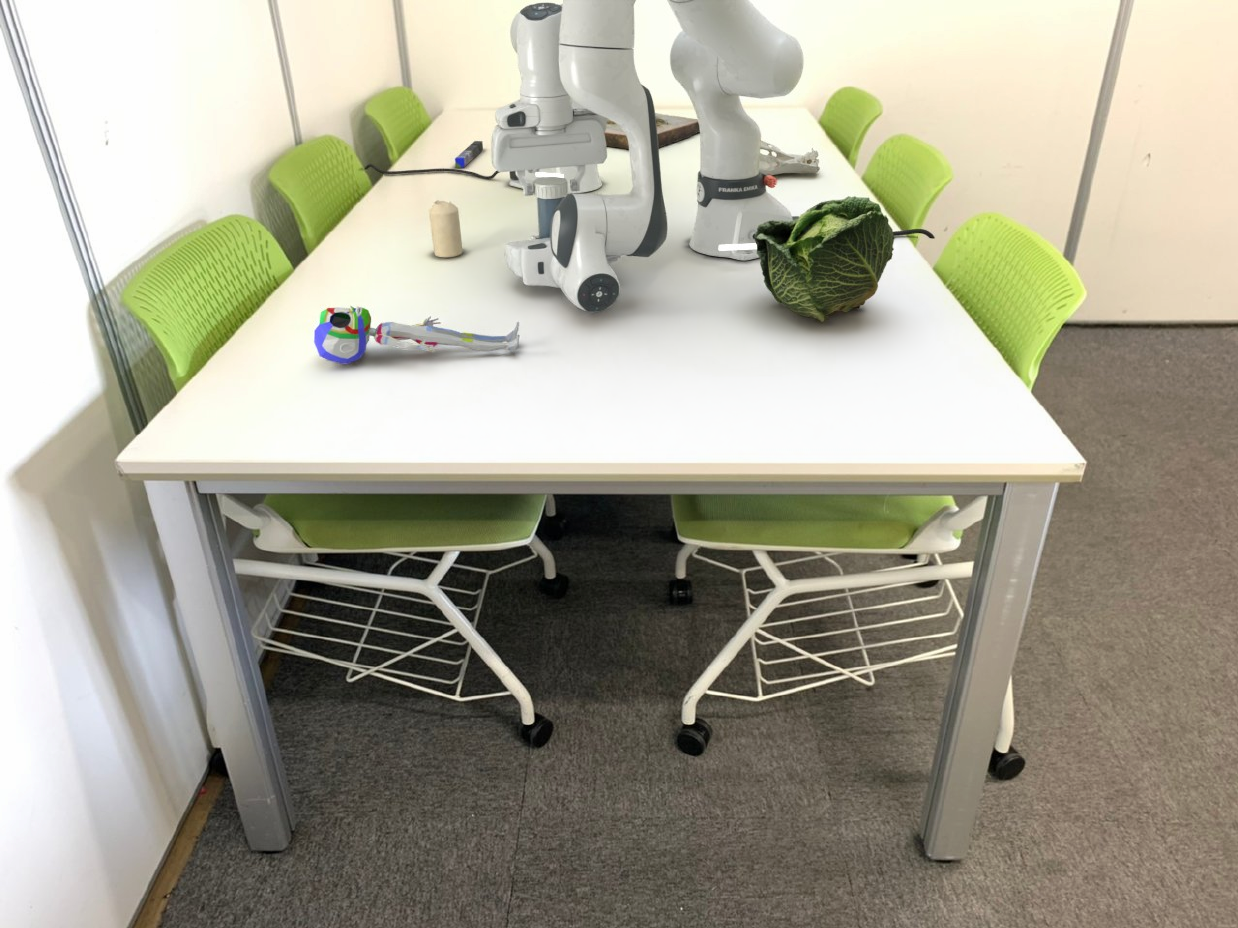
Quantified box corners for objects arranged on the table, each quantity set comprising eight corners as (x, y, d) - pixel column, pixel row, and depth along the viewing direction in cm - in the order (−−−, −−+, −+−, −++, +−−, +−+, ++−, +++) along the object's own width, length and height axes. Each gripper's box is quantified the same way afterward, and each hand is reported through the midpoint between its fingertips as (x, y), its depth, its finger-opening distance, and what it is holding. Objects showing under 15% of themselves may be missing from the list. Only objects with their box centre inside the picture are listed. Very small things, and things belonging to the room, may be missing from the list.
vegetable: (781, 336, 156) (729, 236, 148) (870, 275, 157) (823, 172, 149) (838, 357, 138) (781, 244, 130) (938, 287, 139) (888, 171, 131)
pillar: (482, 141, 246) (462, 159, 229) (483, 149, 247) (463, 167, 230) (474, 141, 246) (454, 159, 230) (475, 149, 247) (455, 167, 231)
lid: (541, 188, 164) (541, 175, 162) (572, 191, 162) (572, 177, 161) (528, 197, 159) (527, 184, 158) (560, 200, 157) (559, 186, 156)
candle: (467, 249, 176) (462, 199, 171) (454, 259, 172) (448, 207, 167) (442, 247, 178) (436, 196, 172) (429, 256, 173) (422, 204, 168)
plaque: (647, 125, 237) (559, 112, 252) (647, 153, 241) (560, 139, 256) (706, 107, 258) (622, 97, 273) (705, 133, 262) (622, 121, 277)
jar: (547, 261, 170) (542, 178, 162) (572, 264, 169) (569, 180, 161) (536, 270, 166) (531, 186, 158) (562, 273, 165) (558, 188, 157)
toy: (520, 333, 130) (306, 316, 126) (516, 385, 135) (309, 370, 130) (519, 307, 139) (319, 289, 134) (515, 356, 143) (321, 341, 139)
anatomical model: (720, 129, 225) (821, 128, 221) (719, 166, 230) (818, 165, 226) (716, 143, 213) (823, 142, 209) (716, 182, 218) (820, 182, 214)
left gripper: (601, 103, 158) (603, 183, 165) (485, 111, 153) (493, 193, 161) (610, 110, 152) (612, 192, 160) (491, 119, 148) (498, 202, 156)
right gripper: (629, 237, 155) (605, 214, 166) (513, 251, 150) (496, 227, 161) (629, 272, 159) (605, 247, 170) (516, 286, 153) (499, 260, 165)
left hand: (551, 192), depth 160 cm, fingers open, 7 cm apart
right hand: (551, 237), depth 165 cm, fingers closed on jar, 5 cm apart
